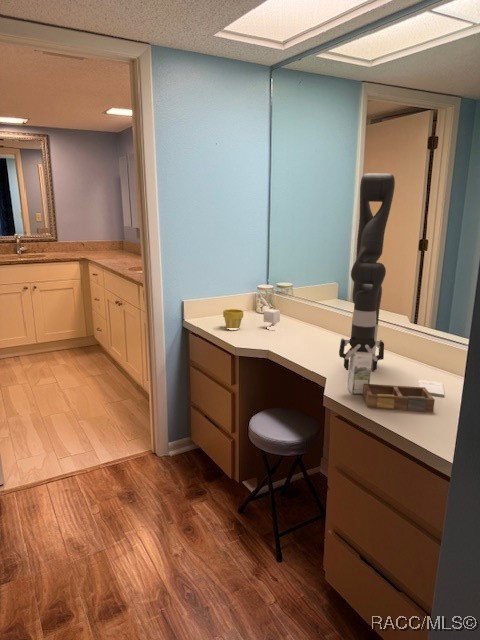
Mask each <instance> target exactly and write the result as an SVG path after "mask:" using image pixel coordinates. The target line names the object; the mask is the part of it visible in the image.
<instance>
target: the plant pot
mask: <svg viewBox="0 0 480 640" xmlns="http://www.w3.org/2000/svg"><path fill="white" fill-rule="evenodd" d="M222 316H223V318H224V322H225V328H226V327H227V328H239V327H240V328H241V325H242V320H243V318H244V310H242V309H237V308H230V309H229V308H227V309H224V310H223V313H222ZM240 328H239V329H240Z"/></svg>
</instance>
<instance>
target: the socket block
mask: <svg viewBox="0 0 480 640" xmlns="http://www.w3.org/2000/svg"><path fill="white" fill-rule="evenodd" d="M362 397H363V400H364V402H365V405H366V407H367V409H368V408H370V409H380V410H381V409H384V410H399V411H411V412H413V411H414V412H427V413H434V408H435V400H436V399H435V398H434V397H433V396H432V395H431V394H430V393H429V392H428V391H427V389H426V388H425V387H418V386H409V385H407V386H405V385H392V384H391V385H390V384H376V383H369V384H364V386H363V394H362Z"/></svg>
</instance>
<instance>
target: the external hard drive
mask: <svg viewBox="0 0 480 640" xmlns="http://www.w3.org/2000/svg"><path fill="white" fill-rule="evenodd" d="M417 387H425V388H426V389H427V391H428V392H429V393H430V394H431V396H432V397H433V396H434V397H440V398H445V396H446V395H445V388H444V383H443V382H439V381H433V380H425V379H419V380H418V385H417Z"/></svg>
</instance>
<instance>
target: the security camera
mask: <svg viewBox="0 0 480 640" xmlns="http://www.w3.org/2000/svg"><path fill="white" fill-rule="evenodd" d="M280 318H281V310H280V309H275V308H266V309H265V310H263V322H264V323H269V324H270V325H269V327H271V326H276V324H277V323H280Z"/></svg>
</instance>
